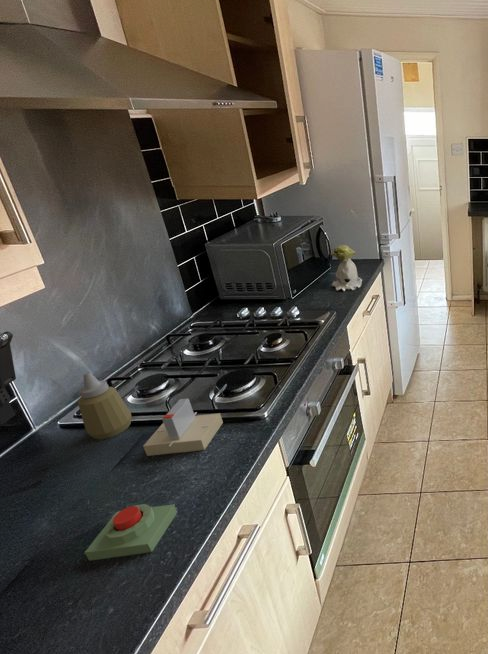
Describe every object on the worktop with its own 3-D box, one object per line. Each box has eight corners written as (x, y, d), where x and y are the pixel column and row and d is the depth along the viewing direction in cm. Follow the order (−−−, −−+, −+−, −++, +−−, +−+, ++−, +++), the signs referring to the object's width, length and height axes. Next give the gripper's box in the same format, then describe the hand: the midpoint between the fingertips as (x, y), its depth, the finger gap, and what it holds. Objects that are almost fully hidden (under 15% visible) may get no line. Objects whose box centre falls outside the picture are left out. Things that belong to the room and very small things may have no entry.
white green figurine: (357, 277, 192) (351, 239, 185) (366, 286, 182) (361, 246, 176) (330, 283, 185) (323, 244, 178) (339, 293, 176) (332, 252, 169)
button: (111, 532, 74) (107, 525, 74) (125, 514, 78) (121, 507, 77) (133, 529, 75) (130, 522, 74) (146, 511, 78) (143, 504, 77)
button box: (88, 560, 73) (80, 545, 72) (120, 519, 80) (113, 504, 79) (151, 552, 75) (144, 537, 73) (177, 512, 82) (171, 497, 80)
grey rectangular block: (186, 418, 102) (179, 398, 99) (195, 417, 102) (188, 397, 100) (170, 440, 95) (161, 418, 93) (179, 438, 96) (171, 417, 93)
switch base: (144, 459, 94) (139, 449, 93) (173, 424, 104) (169, 414, 103) (202, 453, 96) (198, 443, 94) (225, 419, 106) (222, 409, 105)
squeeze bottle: (130, 418, 106) (105, 358, 99) (141, 431, 102) (115, 370, 95) (87, 437, 100) (57, 375, 93) (97, 452, 96) (66, 389, 89)
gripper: (-149, 311, 59) (-66, 440, 68) (-41, 307, 61) (26, 432, 69) (-87, 289, 66) (-19, 408, 75) (9, 286, 68) (64, 403, 76)
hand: (3, 420), depth 72 cm, fingers closed
